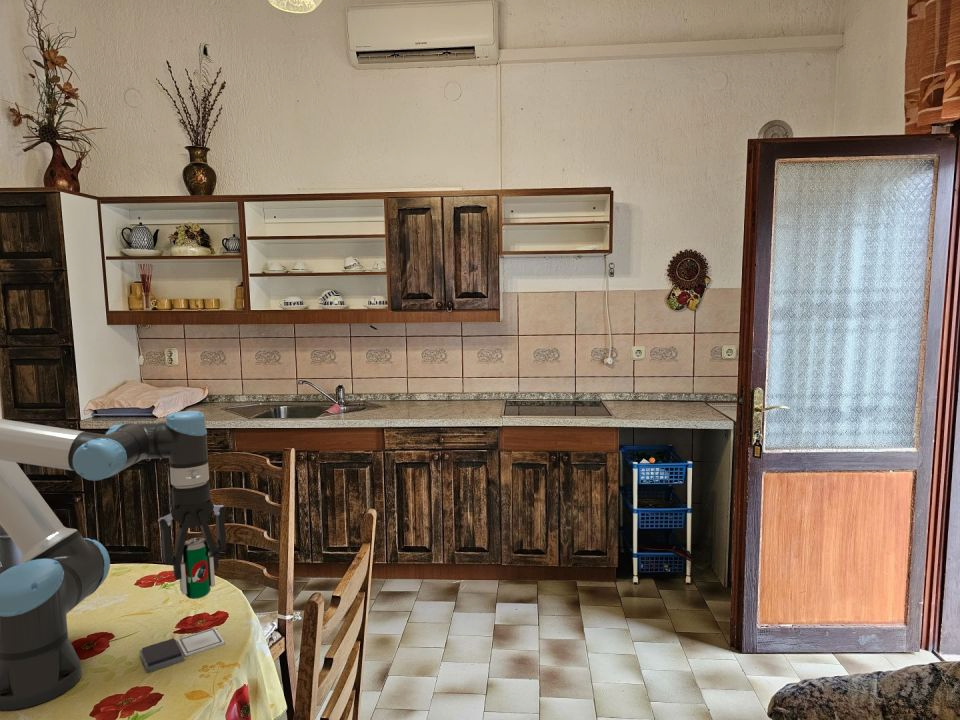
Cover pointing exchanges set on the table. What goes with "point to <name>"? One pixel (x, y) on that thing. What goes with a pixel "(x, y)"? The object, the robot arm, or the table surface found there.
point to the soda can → (196, 568)
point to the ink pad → (161, 655)
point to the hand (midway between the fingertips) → (197, 587)
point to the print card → (200, 641)
